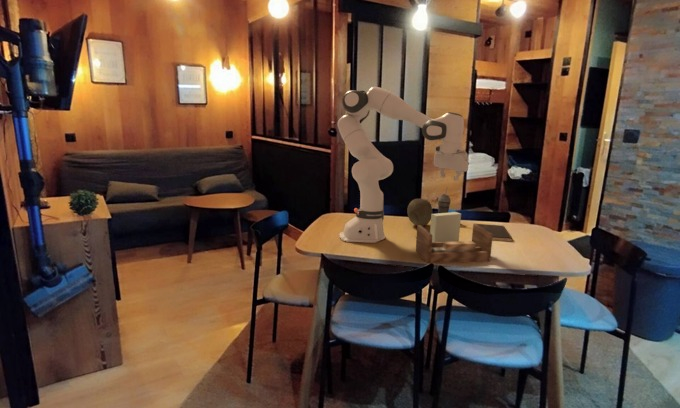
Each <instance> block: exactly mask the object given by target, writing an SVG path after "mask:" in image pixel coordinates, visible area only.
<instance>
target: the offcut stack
mask: <svg viewBox="0 0 680 408" xmlns="http://www.w3.org/2000/svg"><path fill="white" fill-rule="evenodd" d="M475 248H476V243H474V242H473V241H472V240H469V241H468V240H467V241H466V240H463V241H462V240H461V241H460V240H459V241H455V242H443V247H437V248H432V252H473V251H474V249H475Z"/></svg>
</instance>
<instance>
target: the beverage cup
mask: <svg viewBox="0 0 680 408" xmlns="http://www.w3.org/2000/svg"><path fill="white" fill-rule="evenodd" d="M447 191H448V187H445V193H444V194H440V195H439V197H438V198H437V207H438V209H437V211H438V213H449V211H450V206H451V197H450V195H448V194H447V193H448V192H447Z"/></svg>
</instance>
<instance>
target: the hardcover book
mask: <svg viewBox="0 0 680 408" xmlns="http://www.w3.org/2000/svg"><path fill="white" fill-rule="evenodd" d="M476 224H477V225H479V226H480V227H482V228H484V229H485V230H487V231H489V232H490V233H492V234H493V238H492V241H501V242H502V241H503V242H513V240H514V239H513V237H512V235H511V234H510V233H509V231H508V229H507V228H506V226H505V225H500V224H497V225H496V224H485V223H484V224H483V223H476Z"/></svg>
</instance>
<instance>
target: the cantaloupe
mask: <svg viewBox="0 0 680 408" xmlns="http://www.w3.org/2000/svg"><path fill="white" fill-rule="evenodd" d="M431 214H434V213H433V208H432V204H431V203H430V201H429V200H428V199H424V198H414V199H412V200H411V201H410V202H409V204H408V205H407V216H408V219H409V221H410V223H411V224H412V225H414V226H417V225H421V226H422V227H425V226H427V225H428V224H429V223H431Z"/></svg>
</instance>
